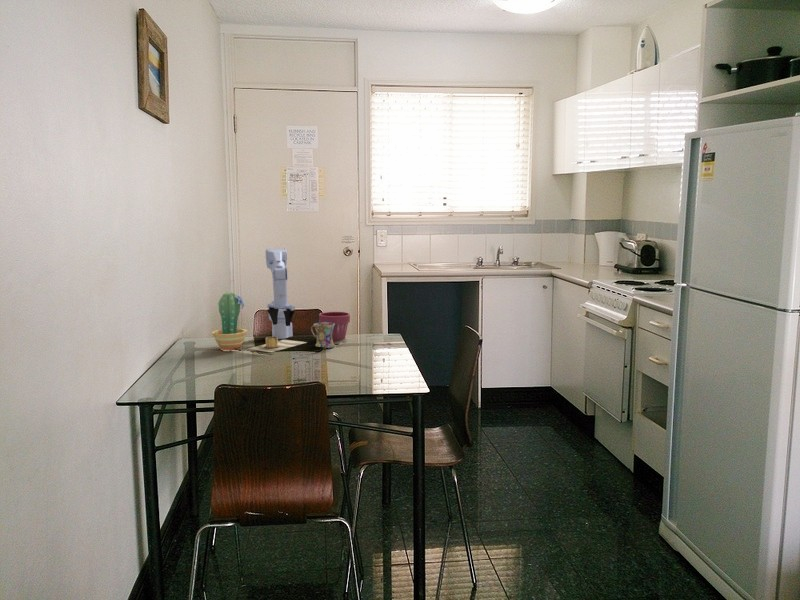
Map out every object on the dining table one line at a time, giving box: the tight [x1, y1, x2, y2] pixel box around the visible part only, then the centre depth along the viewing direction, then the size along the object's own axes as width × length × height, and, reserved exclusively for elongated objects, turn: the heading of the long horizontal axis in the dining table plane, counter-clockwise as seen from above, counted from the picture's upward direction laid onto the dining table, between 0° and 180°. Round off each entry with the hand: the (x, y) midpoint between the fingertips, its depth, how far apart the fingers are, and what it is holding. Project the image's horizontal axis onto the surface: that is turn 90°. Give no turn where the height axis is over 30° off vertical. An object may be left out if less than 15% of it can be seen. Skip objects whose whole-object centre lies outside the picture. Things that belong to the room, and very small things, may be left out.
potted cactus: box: [211, 292, 248, 351], centre depth 297 cm, size 15×15×25 cm
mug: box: [310, 322, 335, 350], centre depth 301 cm, size 12×9×11 cm
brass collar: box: [265, 336, 279, 348], centre depth 296 cm, size 5×5×4 cm
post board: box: [246, 338, 308, 355], centre depth 300 cm, size 24×14×5 cm, turn 148°
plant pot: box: [318, 311, 351, 341], centre depth 315 cm, size 14×14×13 cm
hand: (281, 325), depth 304 cm, fingers open, 7 cm apart
